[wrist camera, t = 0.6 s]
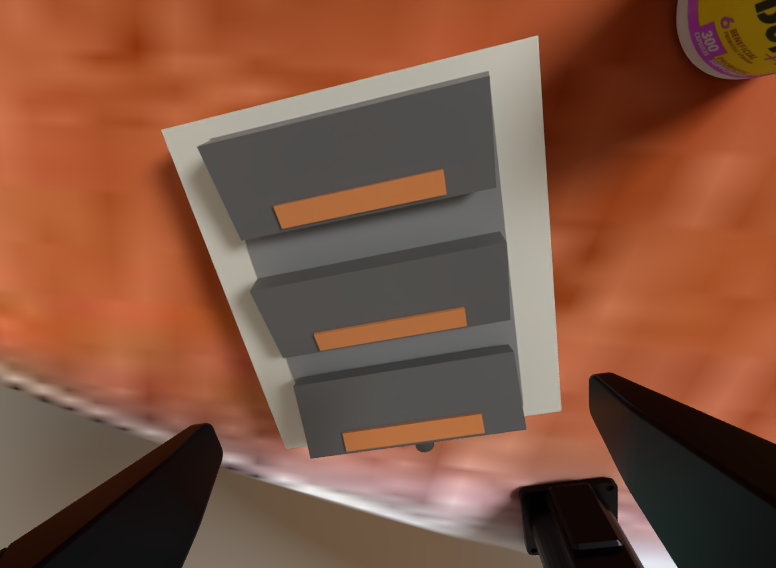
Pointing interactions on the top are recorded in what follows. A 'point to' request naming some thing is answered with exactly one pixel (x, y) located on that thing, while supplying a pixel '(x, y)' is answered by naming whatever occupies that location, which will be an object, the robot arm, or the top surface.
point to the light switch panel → (397, 231)
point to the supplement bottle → (729, 36)
